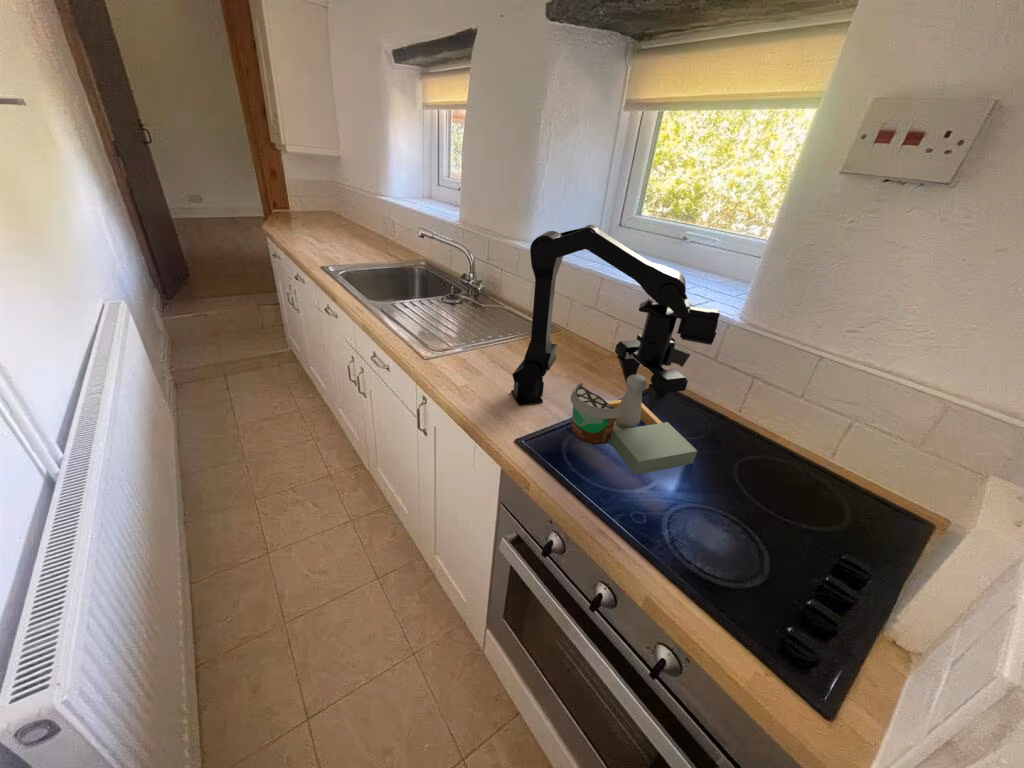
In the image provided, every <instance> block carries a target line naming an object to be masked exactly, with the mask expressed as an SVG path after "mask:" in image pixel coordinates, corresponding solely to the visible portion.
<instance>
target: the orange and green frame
mask: <svg viewBox="0 0 1024 768" xmlns="http://www.w3.org/2000/svg"><path fill="white" fill-rule="evenodd" d="M621 400H622V399H615V400H614V399H613V400H607V401H606V402H607V403H608V404H609V405H611V406H612V407H614V408H618V406H619V404H620V402H621ZM640 421H641V422H643V423H644V425H641V426H636V427H633V428H627V429H620V428H619V427H618V426H617V425H616V423H615V424H614V427H613V430H612V432H611V435H610V438H609V440H610V441H609V445H610V446H611V447H612V448H613V449H614V450H615V451H616V453H617V454H618V455H619V457H620V458H621V459H622V461H623V462H624V463H625V465H626V466H627V467H628V469H629V470H630V471H631V472H632V473H633V475H634V476H636V475H641V474H645V473H652V472H657V471H662V470H666V469H672V468H678V467H684V466H687V465H693V464H694V462H695V458H696V456H697V453H698V450H697V449H696V448H695V447H694V446H693V445H692V444H691V443H690V442H689V441H688V440H687V439H686V438H685V437H684V436H682V434H681V433H679V432H678V431H677V430H676V428H674V427H673V426H672V425H671V424H670V423H669V422H666V421H665V422H663V421H661V420H660V419H659V418H658V417H657V416H656V415H655V414H654V412H652V411H651V410H650V409H649V407H647V406H646V405H645V404H644V403H643V401H642V402H641V417H640Z"/></svg>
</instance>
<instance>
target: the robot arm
mask: <svg viewBox="0 0 1024 768" xmlns="http://www.w3.org/2000/svg"><path fill="white" fill-rule="evenodd" d="M583 250H586V251H588V252H590V253H592V254H593V255H595V256H597V258H600V259H601V260H603V261H604V262H606V263H607V264H609V265H610V266H612V267H614V268H615V269H617V270H619V271H620V272H621V273H623V274H624V275H627V276H628V277H629V278H631V279H633V280H634V281H635V282H637V284H638V285H639V286H640V287H641V289H642V290H643V291H644V292H645V293H646V294H647V295H648V296H649V298H648V299H647V300H645V301H643V302H641V303H640V304H639V308H638V312H642V313H646V317H645V320H644V321H645V322H644V326H643V328H642V329H643V330H642V332H641V334H640V333H639V334H637V337H636V339H630V340H620V341H619V342H618V343H617V344H615V350H614V353H615V354H616V355H617V357H616V358H617V359H618V361H619V364H620V367H621V370H622V371H621V372H622V374H623V378H624V383H626V381H627V378H628V377H629V376H630V375H634V374H635V375H637V373H638V369H639V367H640V365H641V366H642V367H643V368H646V369H648V371H650V372H651V373H652V375H651V378H650V382H651V383H650V384H648V409H649V410H650V411H651V410H655V409H656V408H657V407H658V405H659V404H660V403H661V401H662V400H663V399H665V397H666V396H667V395H669V393H676V392H685V391H686V389H687V386H688V384H689V383H688V382H689V379H687V378H686V376H684V374H682V373H681V372H679V371H678V370H677V369H665V368H664V367H663V366H667V367H669V366H672V364H675V365H678V366H679V367H681V368H682V367H684V366H685V365H686V363H687V361H688V360H689V359H690V357H691V354H692V353H690V352H689V351H687V350H685V349H684V348H683V347H681V345H678V344H676V343H675V342H676V339H675V338H673V337H672V336H673V334H674V329H675V326H676V323H677V321H678V319H679V321H678V323H677V329H676V334H677V335H678V334H679V338H680V340H683V341H687V342H692V343H697V344H703V345H707V346H711V345H713V342H714V340H715V338H716V335H717V328H718V322H719V318H720V316H721V315H720V310H719V309H713V308H701V307H696V306H691V305H690V304H691V302H690V298H689V297H688V296H687V293H686V292H687V290H686V278H685V276H684V275H683V273H682V272H680V271H678V270H676V269H674V268H671V267H668V266H666V265H664V264H660V263H655V262H652V261H651V260H648V259H646V258H644V257H643V256H641V255H640V254H638V253H636V252H635V251H633V250H632V249H631V248H629V247H627V246H625V245H624V244H622V243H621V242H620V241H617V240H616V239H614V238H613V237H612V236H609V235H608V234H607V233H605V232H603V231H602V230H601V229H600V228H599V227H598V226H597V225H594V224H588V225H586V226H584V227H580V228H575V229H572V230H568V231H564V232H558V231H555V230H548V231H546V232H544V233H543V234H540V235H539V236H537V237H536V238H535V239H534V240H533V241H532V243H531V244H530V248H529V253H530V264H531V269H532V273H533V275H534V281H535V282H534V293H533V294H534V295H533V309H532V321H531V322H532V323H531V333H530V335H531V337H530V341H529V344H528V346H527V349H526V352H525V355H524V359H523V360H522V361H521V362H520V364H519V365H518V367H517V368H516V369H515V371H514V372H513V373H512V378H513V389H511V391H510V393H511V395H512V397H513V399H514V400H515V402H516V404H517V406H526V405H533V404H542V403H543V402H544V401H543V398H542V397H543V395H544V394H543V393H544V386H545V383H544V381H543V380H544V378H543V377H544V376H545V375H546V373H547V372H548V371H550V370H551V368H552V366H553V365H554V363H555V362H556V360H557V355H556V354H557V353H556V351H557V348H558V344H557V343H552V339H551V329H552V319H553V310H554V309H553V308H554V299H555V298H554V297H555V288H556V279H557V275H558V272H559V270H560V267H561V264H562V262H563V257H565V256H567V255H570V254H573V253H577V252H579V251H583ZM654 301H655V302H654Z"/></svg>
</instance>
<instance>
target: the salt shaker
mask: <svg viewBox="0 0 1024 768" xmlns="http://www.w3.org/2000/svg"><path fill="white" fill-rule="evenodd" d="M625 384H626V388H627V389H626V391H624V392H625V393H624V395H623V397H622V399H620V400H621V402H620V404H619V406H618V408H619V407H620V410H621V413H620V417H618V418H617V419H616V421H615V425H616V426H617V428H618V429H619V430H620V429H627V428H633V427H638V425H639V424H640V423H641V419H640V417H641V402H642V403H643V400H642V399H643V391H644V390H646V388H647V386H648V385H647V384H648V380H647V379H646V378H645V376H643V375H641V374H640V375H639V374H636V375H635V374H634V375H630V376H629V377H628V378H627V381H626V382H625Z"/></svg>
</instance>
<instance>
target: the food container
mask: <svg viewBox="0 0 1024 768" xmlns="http://www.w3.org/2000/svg"><path fill="white" fill-rule="evenodd" d="M583 383H584V382H583V381H582V382H580V383H578V384H577V385H576V386H575V387H574V389H573V391H572V393H571V395H570V402H571V404H572V416H571V429H570V430H571V434H572V435H573V436H574V437H575V439H577V440H579V441H580V442H583V443H585V444H589V445H595V446H596V445H598V446H599V445H604V444H608V443H609V440H610V435H611V432H612V430H613V427H614V424H615V425H616V419H617V418H618V417H620V413H621V410H620V407H619V408H614V407H612V406H611V405H609V404H608V403H607V401H606V400H605V399H604V398H603V397H602V396H600V395H598V394H597V393H594V392H592V391H590V390H588V389H587V388H586V387H584V386H583Z"/></svg>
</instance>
